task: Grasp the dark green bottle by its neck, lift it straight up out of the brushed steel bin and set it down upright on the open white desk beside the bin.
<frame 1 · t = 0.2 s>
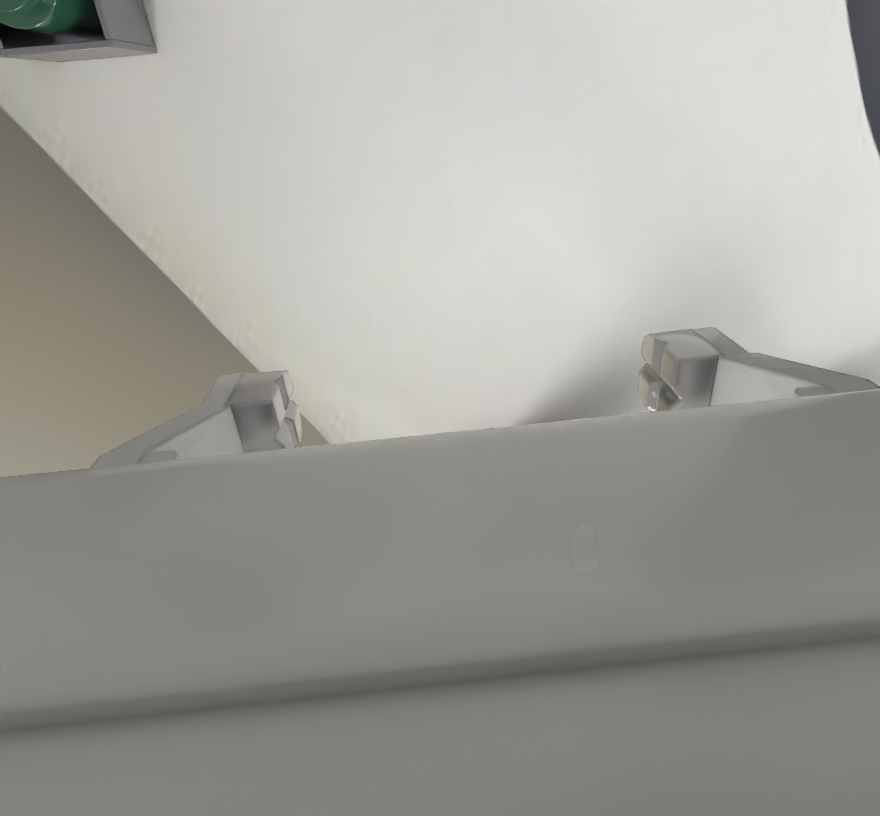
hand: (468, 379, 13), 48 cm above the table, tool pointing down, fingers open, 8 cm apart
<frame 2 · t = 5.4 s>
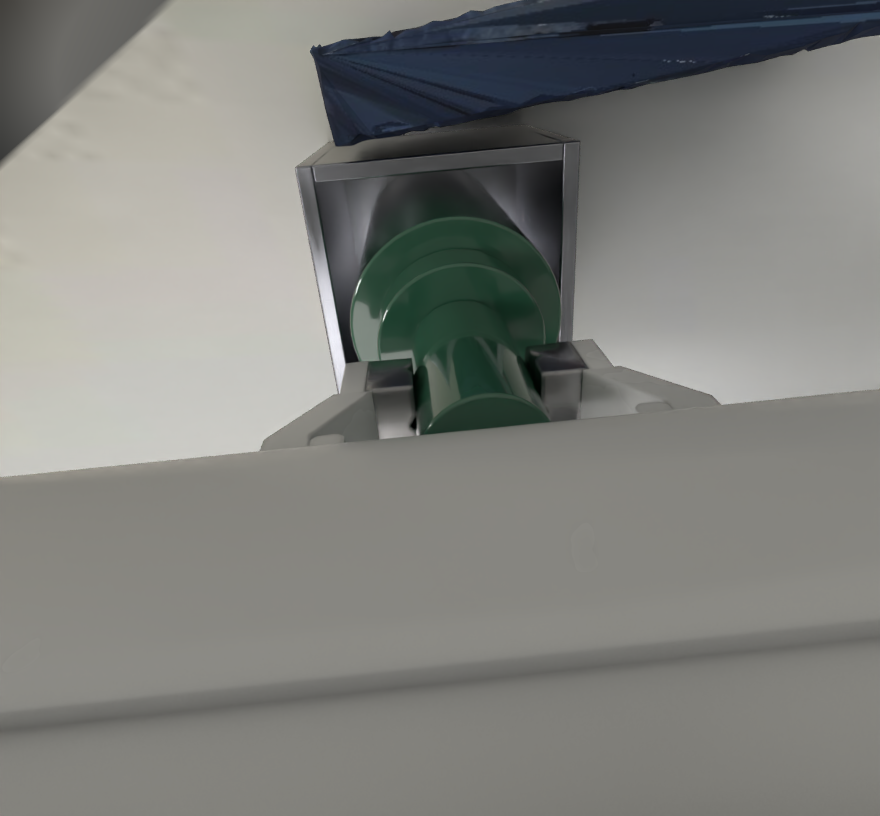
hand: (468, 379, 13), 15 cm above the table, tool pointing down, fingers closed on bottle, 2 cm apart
bottle: (435, 236, 25), point 1 cm above the table, touching bin, gripper
vhs cassette tape: (570, 46, 23), on the table
bin: (434, 234, 26), on the table
when the fingers open (14 cm above the table, at t = 12.0 s): bottle stays where it is, on the table.
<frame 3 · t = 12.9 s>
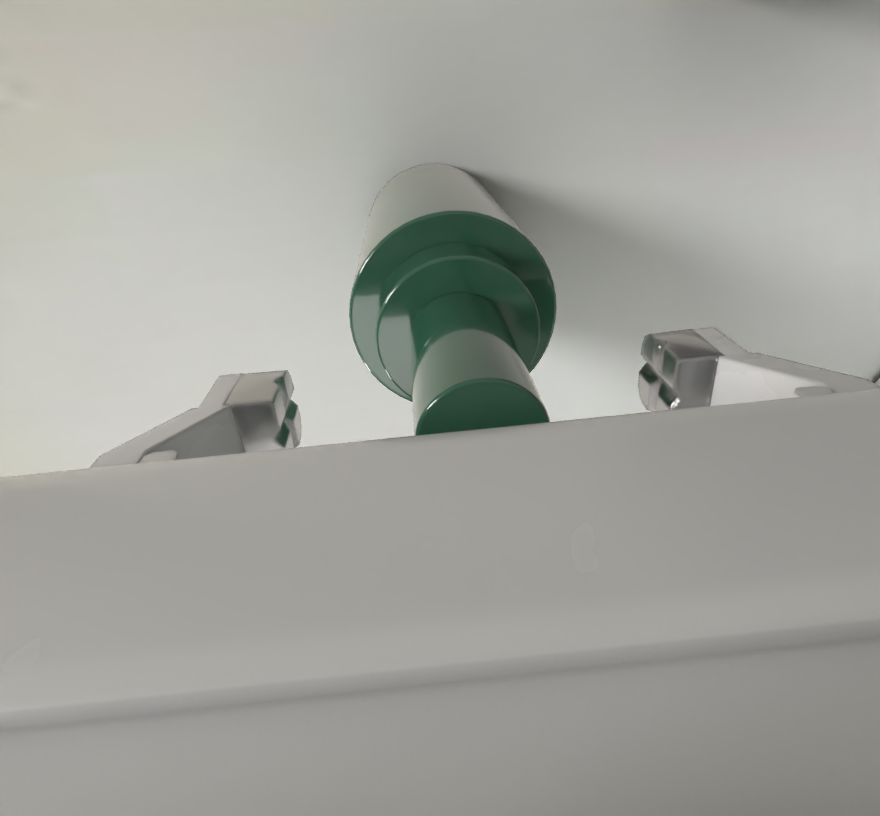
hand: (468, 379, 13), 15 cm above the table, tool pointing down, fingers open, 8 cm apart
bottle: (433, 234, 26), on the table
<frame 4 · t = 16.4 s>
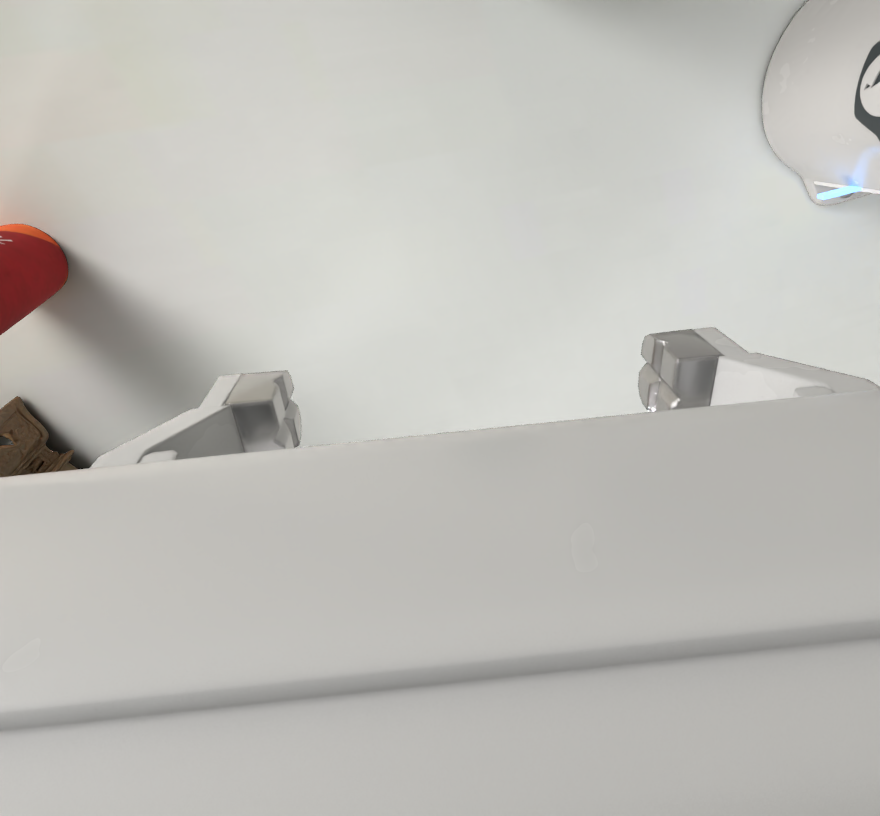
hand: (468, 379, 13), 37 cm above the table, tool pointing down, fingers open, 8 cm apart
coffee cup: (30, 260, 47), on the table
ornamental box: (117, 543, 62), on the table
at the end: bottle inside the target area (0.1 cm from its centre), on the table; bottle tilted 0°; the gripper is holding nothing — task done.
